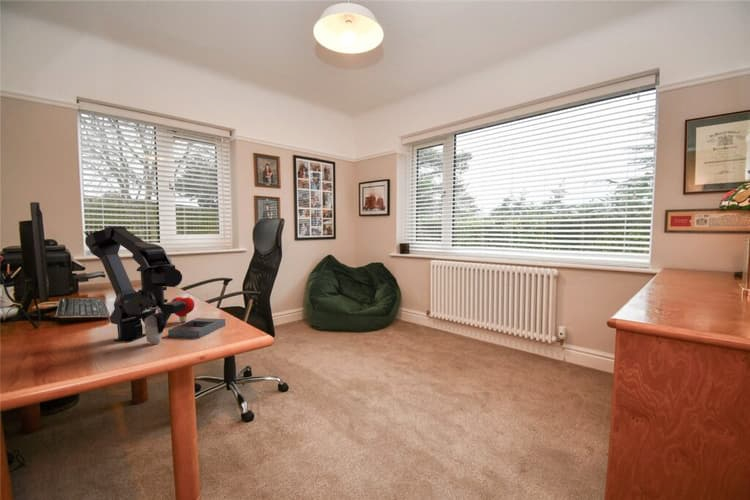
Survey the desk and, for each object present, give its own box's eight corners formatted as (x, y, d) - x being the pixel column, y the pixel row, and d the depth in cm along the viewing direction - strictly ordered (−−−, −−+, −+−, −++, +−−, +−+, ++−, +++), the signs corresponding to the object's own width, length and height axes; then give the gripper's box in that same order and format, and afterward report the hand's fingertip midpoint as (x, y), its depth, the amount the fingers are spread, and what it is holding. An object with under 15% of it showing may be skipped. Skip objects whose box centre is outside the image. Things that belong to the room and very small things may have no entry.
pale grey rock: (158, 339, 105) (156, 310, 104) (168, 340, 105) (165, 310, 104) (143, 346, 99) (141, 315, 99) (153, 346, 99) (151, 315, 98)
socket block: (168, 336, 108) (168, 329, 108) (197, 324, 122) (197, 318, 122) (199, 338, 106) (199, 331, 106) (225, 325, 120) (225, 319, 120)
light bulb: (166, 324, 122) (164, 299, 121) (180, 319, 129) (178, 295, 128) (187, 325, 120) (185, 299, 120) (200, 320, 127) (198, 295, 127)
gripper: (102, 289, 94) (106, 340, 95) (156, 290, 91) (160, 343, 92) (136, 283, 105) (139, 328, 106) (185, 283, 102) (188, 330, 103)
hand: (155, 332), depth 102 cm, fingers closed on pale grey rock, 3 cm apart
